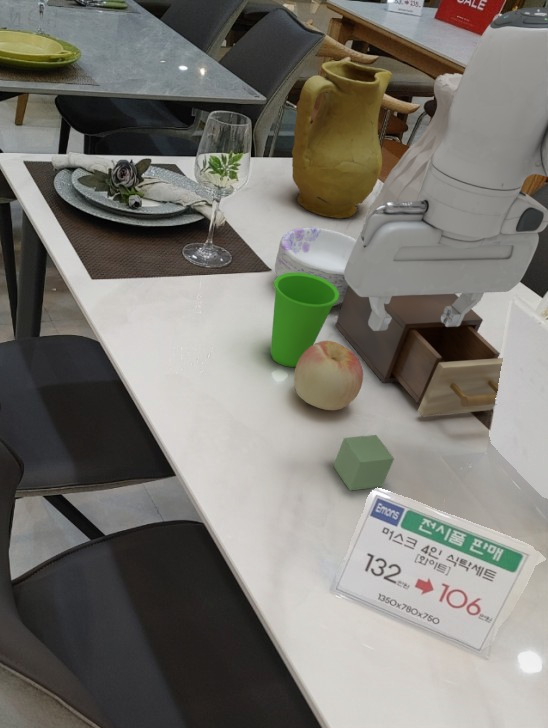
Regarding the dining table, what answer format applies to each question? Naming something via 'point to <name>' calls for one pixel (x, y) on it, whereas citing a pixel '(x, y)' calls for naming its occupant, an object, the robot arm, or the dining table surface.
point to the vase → (420, 149)
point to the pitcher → (338, 138)
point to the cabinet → (392, 326)
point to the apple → (328, 376)
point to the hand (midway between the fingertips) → (413, 326)
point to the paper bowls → (316, 255)
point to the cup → (299, 314)
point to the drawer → (448, 370)
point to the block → (363, 462)
